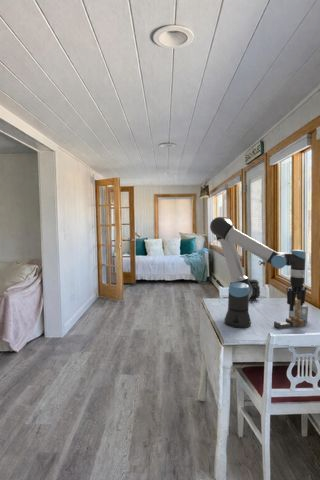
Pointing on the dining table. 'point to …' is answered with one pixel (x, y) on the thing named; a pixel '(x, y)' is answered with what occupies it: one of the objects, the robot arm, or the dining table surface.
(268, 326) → the dining table surface
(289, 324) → the rail
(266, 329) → the dining table surface
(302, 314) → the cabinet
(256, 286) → the camera
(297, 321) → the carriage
